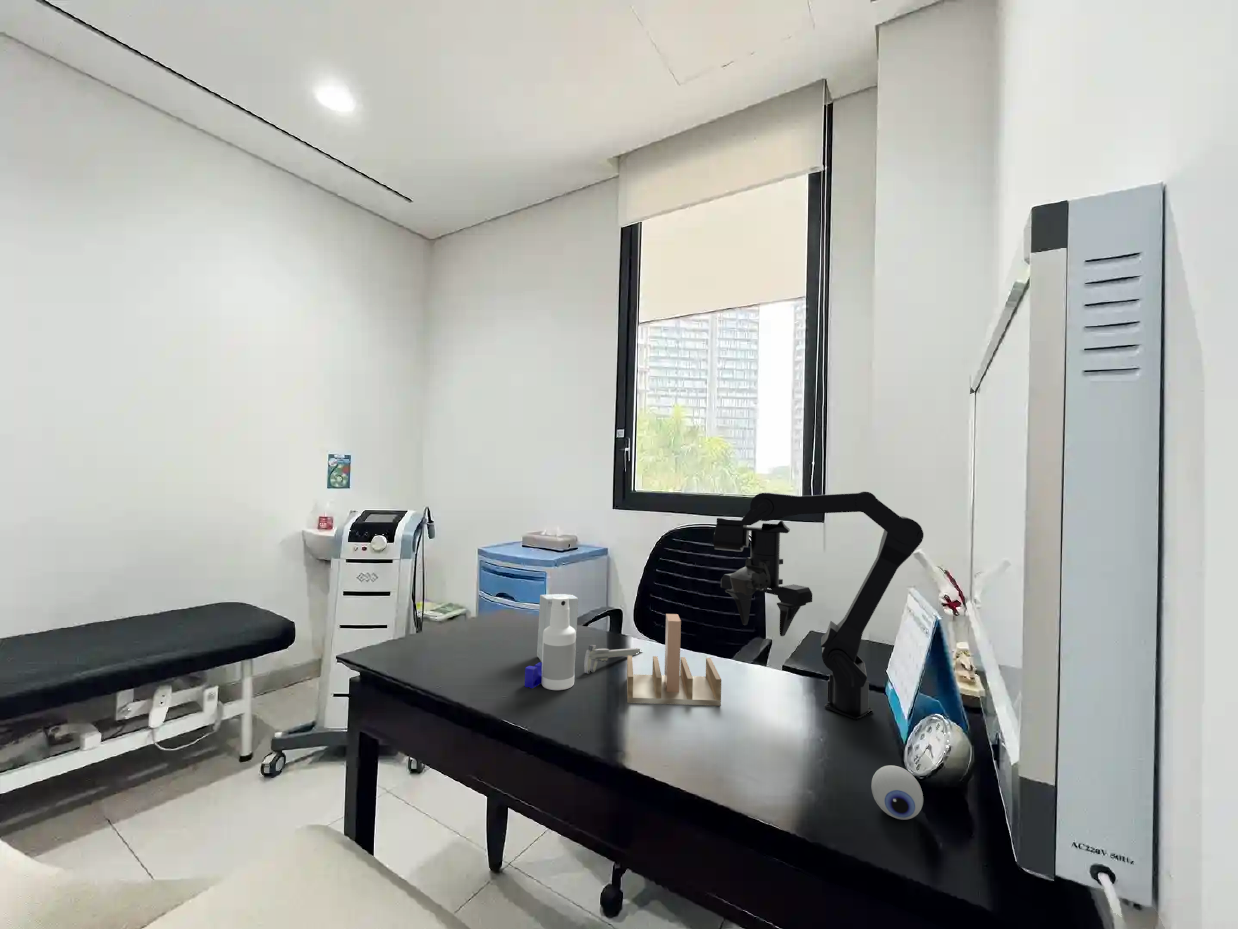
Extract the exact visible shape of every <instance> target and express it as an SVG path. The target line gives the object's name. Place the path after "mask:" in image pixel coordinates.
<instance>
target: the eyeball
mask: <svg viewBox="0 0 1238 929" xmlns="http://www.w3.org/2000/svg"><path fill="white" fill-rule="evenodd" d="M870 786H871V793H872V796H873V799H874V801H875V803H876V804H877V805H878V807H879V808H880V809H881V810H882V811H883V812H884V813H885V814H886V815H888V816H890V817H892V818H895V819H897V820H902V821H903V820H910V819H913V818H915V817H917V815H919V813H920V812H921V810H922V808H923V805H924V796H923V795H924V794H923V791H922V788H921V785H920V783H919V781H918V780H917V779H916V778H915V776H914V775H913V773H912V774H911V772H909V771H908V770H907V769H905V768H903V767H900V766H897V765H894V764H893V765H884V766H882V767H880V768H878V769H877V770H876V771H875V773H874V774H873V776H872V779H871V784H870Z"/></svg>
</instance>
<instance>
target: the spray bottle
mask: <svg viewBox="0 0 1238 929" xmlns="http://www.w3.org/2000/svg"><path fill="white" fill-rule="evenodd" d="M569 621H570V618H569V597H567V596H562V597H558V598H556V597H553V598H552V607H551V618H550V626H549V627H547V628H545V629H544V631H543V648H542V680H541V685H542V687H543V688H544V689H547V690H552V691H563V690H568V689H570V688H572V687H573V686H574V684H575V670H576V669H575V668H576V654H575V642H576V643H577V634H576V631H575V629H574V628H572V627H571V626H569Z"/></svg>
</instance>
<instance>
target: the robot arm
mask: <svg viewBox="0 0 1238 929" xmlns="http://www.w3.org/2000/svg"><path fill="white" fill-rule="evenodd" d="M749 506H750V507H749V508H750V509H749V510H748V512H747V513H746V514H745V515H744V516H742V519H737V518H734V519H733V518H727V517H717V518H716V524H715V528H714V533H713V536H712V537H713V539H712V541H713V548H714V550H719V551H720V550H721V551H731V552H743V551H744V548H748V547H749V542H750V557H746V560H745V563H744V564H745V565H744V567H741V568H739V569H738V570H736V571H734V572H732V573H725V574H723V576H722V577H721V579H720V588H721V589H725V590H724V591H725V593H728V594H729V595H730V596H731V598H733V599H734V601H735V604H736V607H737V610H738V613H739V616H740V620H741V623H742V625H744V626H747V625H748V624H749V623H748V622H749V620H750V615H751V613H750V612H751V606H752V600H753V599H752V597H753V594H755V593H756V592H762V593H765V594H771V595H775V596H777V598H778V600H779V601H780V602H776V606H777V607H778V609H779V636H780V637H785V635H786V634H787V632H788V630H789V628H790V626H791V625H792V622H793V620H794V618H795V616H796V615H797V613H798V612H799V610H801V607H803V606H806V605H807V604H809V603H812V602H813V593H812V592H813V591H812V590H811V588H810V587H809V586H804V585H798V584H788V585H784V582H783V581H784V580H783V578H780V565H783V564H784V558H780V548H781V547H780V546H781V544H780V543H781V534H789V532H790V530H791V529H790V528H789V527H788V526H787V525H786V524H785V522H784V520H780V519H785V518H787V517H788V518H789V517H791V516H798V515H809V514H811V515H813V514H837V513H838V514H840V513H859V512H860V513H863V514H864V515H865V516H867V517H868V518H869V519H871V520H872V521H873V522H874V523H875V524H877V525H878V526H879V527H880V528H882V529H883V533H882V536H881V539H880V543H879V548H878V552H877V555H876V558H875V560H874V562H873V564H871V567H870V568H869V571H868V573H867V575H866V577H865V578H864V580H863V582H862V584H861V586H860V588H859V590H858V591H857V593H856V595H855V597H854V598H853V600H852V603H851V604H850V606H849V608H848V610H847V612H846V614H845V615H844V617H843V618H842V619H841V621H840V622H838V623H837V624H836V623H835V622H834V621H832V620H830V621H829V625H828V628H827V630H826V632H825V634H823V635H822V636H821V641H820V643H821V644H820V648H821V649H822V650H821V659H822V662H823V664H824V665H825V667H826V668H827V669H828V670H830V671H831V673H829V679H828V680H827V682H826V684H827V688H826V691H827V692H826V702H828V703H826V704H824V708H825V709H828V710H830V711H833V712H835V711H836V712H835V713H837V712H838V714H840V715H843V716H846V717H848V718H850V719H852V718H854V719H853V720H855V719H857V720H859V719H858V718H860V719H861V718H863V717H865V716H867V715H868V714H867V713H869V712H870V711H874V709H873V708H872V707H870V706H869V703H870V702H869V701H870V700H869V698H870V696H869V695H870V693H869V692H870V686H869V685H870V681H869V679H868V676H867V670H866V663H865V661H863V658H861V657H860V656H859V655H858V653H859V650H860V646H861V642H862V637H863V633H864V631H865V629H866V627H867V625H868V624H869V621H870V619H871V618H872V616H873V614H874V613H875V611H876V609H877V607H878V604H879V603H880V602H881V600H882V598H883V596H884V594H885V592H886V591H887V588H888V587H889V585H890V583H891V581H892V579H893V578H894V576H895V574H896V572H897V570H898V569H899V568H900V567H901V566H902V564H904V563H905V562H906V560H907V559H909V558H910V557H911V556H912V555H913V554H914V552H915V551H916V550H917V548H918V547H919V546H920V544H921V543H922V542H923V539H924V530H923V528H922V526H921V525H920V524H919V523H918V522H917V521H915V520H913V519H912V518H909V517H907V516H904V515H903V516H901V515H899V514H898V513H896V512H895V511H893V510H892V509H890V508H889V507H888V506H887V505H885V504H884V503H883V502H882V501H880V500H879V499H878V498H877V497H876V496H875V495H874V494H873V493H871V492H870V491H859V492H852V493H832V494H816V495H815V494H814V495H813V494H812V495H793V494H785V493H776V492H760V493H757V494H756V495H754V497H753V498H752V499H751V502H750V505H749ZM775 520H780V521H779V522H778V523H766V522H768V521H775ZM760 521H761V522H763V523H762V524H761V527H753V526H752V525H755V524H757V523H758V522H760ZM764 522H765V523H764ZM750 532H751V534H750ZM780 585H781V586H780ZM866 714H867V715H866ZM869 714H870V713H869ZM864 715H865V716H864ZM862 716H863V717H862Z"/></svg>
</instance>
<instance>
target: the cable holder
mask: <svg viewBox="0 0 1238 929" xmlns="http://www.w3.org/2000/svg"><path fill="white" fill-rule="evenodd" d="M524 668H525V669H524V687H525V688H528V687H530V688H529V689H532V688H533V689H534V687H535V688H536V687H537V686H539V685H542V683H541V680H542V662H541V661H540V662H539V661H538V662H537V663H536V664H534V665H528V666H526V667H524Z"/></svg>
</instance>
